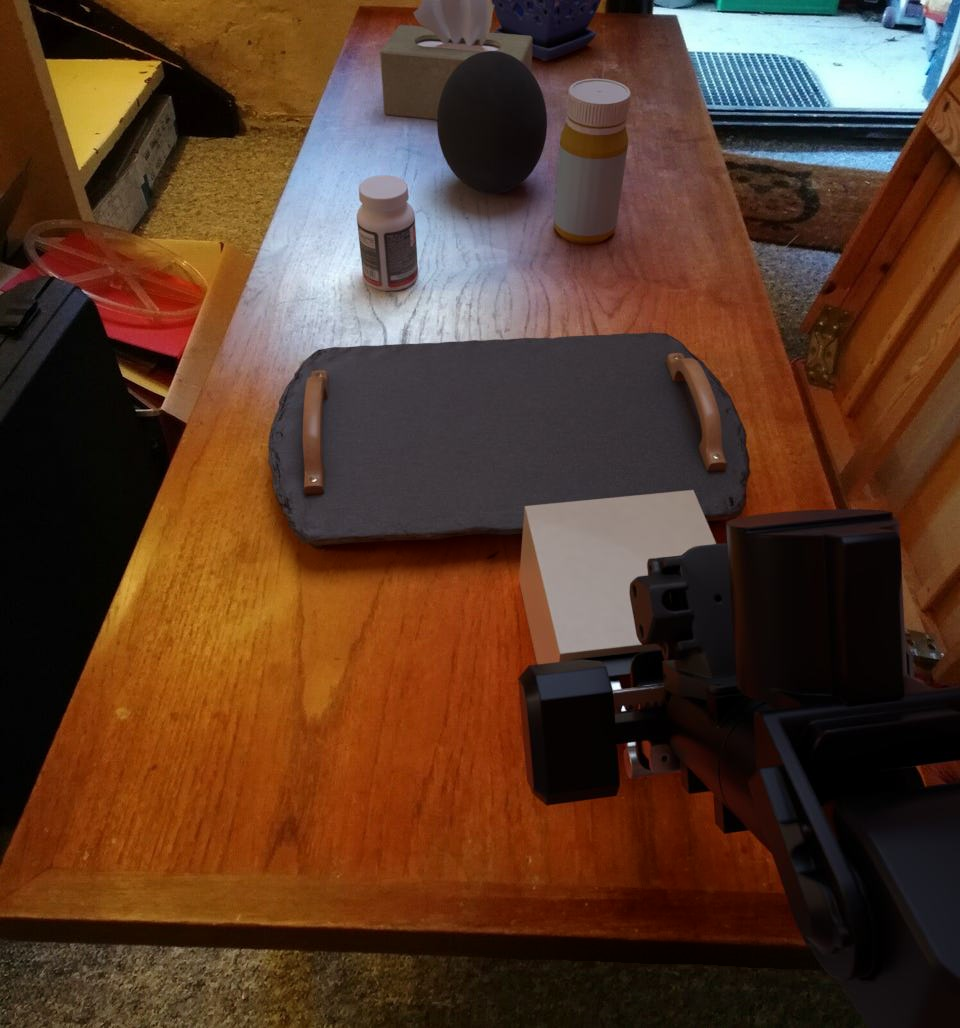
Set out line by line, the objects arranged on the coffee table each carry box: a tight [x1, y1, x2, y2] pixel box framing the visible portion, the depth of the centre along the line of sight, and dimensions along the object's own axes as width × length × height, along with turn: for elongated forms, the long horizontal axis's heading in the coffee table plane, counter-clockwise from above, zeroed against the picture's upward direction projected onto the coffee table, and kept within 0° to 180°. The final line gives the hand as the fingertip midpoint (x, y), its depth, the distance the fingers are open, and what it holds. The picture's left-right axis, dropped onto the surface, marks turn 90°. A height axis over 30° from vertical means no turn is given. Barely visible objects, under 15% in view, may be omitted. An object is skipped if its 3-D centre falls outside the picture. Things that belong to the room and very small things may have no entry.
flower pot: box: [491, 0, 602, 62], centre depth 128 cm, size 13×13×12 cm
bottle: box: [553, 78, 632, 245], centre depth 90 cm, size 7×7×15 cm
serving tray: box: [267, 332, 751, 550], centre depth 70 cm, size 39×23×6 cm, turn 95°
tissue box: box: [379, 0, 533, 121], centre depth 111 cm, size 19×10×16 cm, turn 79°
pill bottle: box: [356, 174, 419, 292], centre depth 85 cm, size 6×6×10 cm
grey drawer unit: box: [518, 490, 717, 665], centre depth 56 cm, size 12×12×8 cm
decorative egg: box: [436, 51, 548, 194], centre depth 96 cm, size 12×12×15 cm
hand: (661, 668), depth 49 cm, fingers closed, pressing on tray
